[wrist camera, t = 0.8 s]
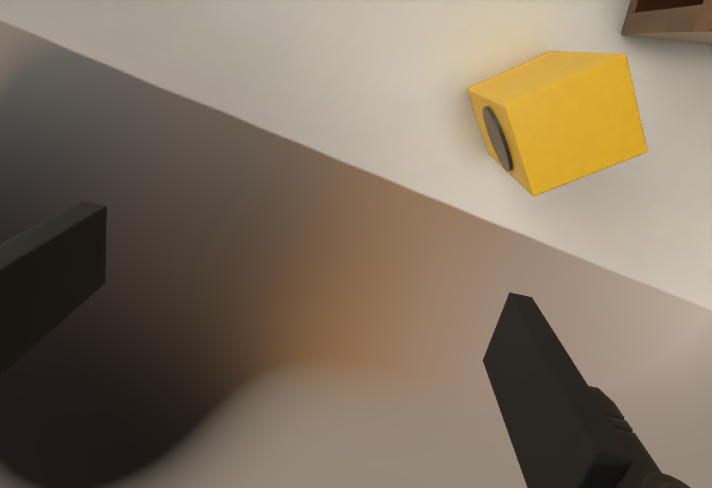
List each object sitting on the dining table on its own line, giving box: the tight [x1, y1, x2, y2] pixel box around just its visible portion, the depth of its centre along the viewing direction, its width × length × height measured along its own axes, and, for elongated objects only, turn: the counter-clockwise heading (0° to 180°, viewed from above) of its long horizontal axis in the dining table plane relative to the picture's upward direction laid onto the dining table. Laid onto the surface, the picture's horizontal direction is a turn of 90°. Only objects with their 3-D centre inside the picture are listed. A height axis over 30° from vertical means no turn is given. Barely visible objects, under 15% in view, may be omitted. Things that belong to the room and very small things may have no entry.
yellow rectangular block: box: [467, 51, 647, 196], centre depth 34 cm, size 6×8×12 cm
